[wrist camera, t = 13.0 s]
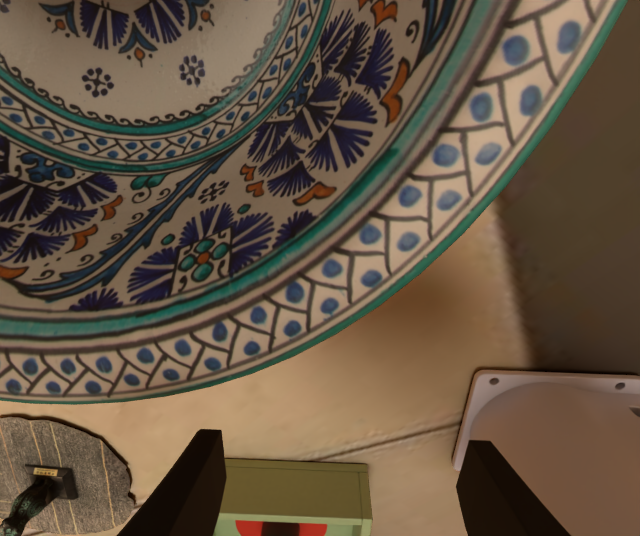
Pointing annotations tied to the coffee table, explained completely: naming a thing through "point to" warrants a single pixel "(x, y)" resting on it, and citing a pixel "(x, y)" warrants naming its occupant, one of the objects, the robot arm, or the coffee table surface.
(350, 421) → the coffee table surface
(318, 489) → the open box
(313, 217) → the bowl
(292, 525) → the lid
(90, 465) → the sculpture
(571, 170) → the coffee table surface
